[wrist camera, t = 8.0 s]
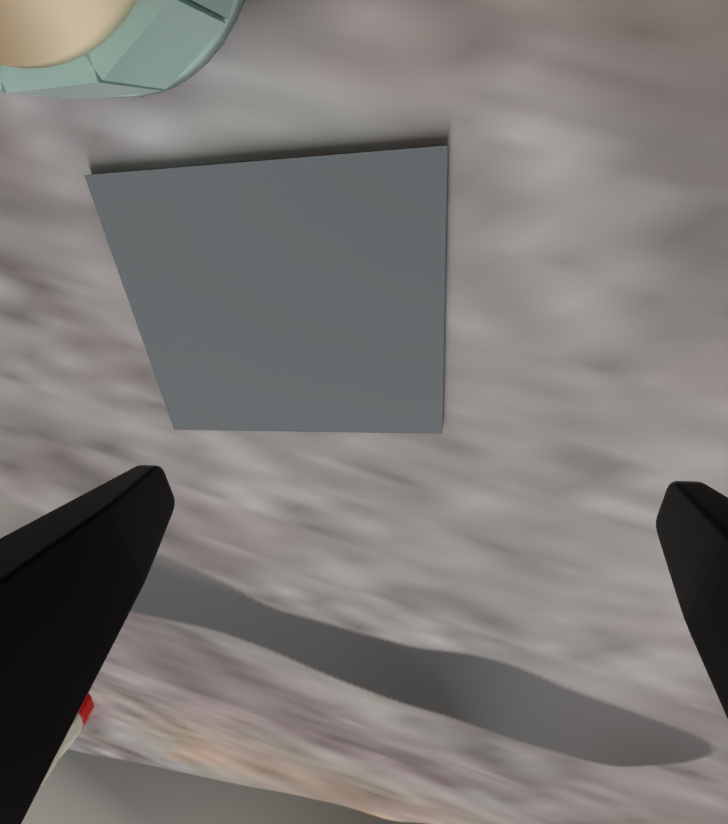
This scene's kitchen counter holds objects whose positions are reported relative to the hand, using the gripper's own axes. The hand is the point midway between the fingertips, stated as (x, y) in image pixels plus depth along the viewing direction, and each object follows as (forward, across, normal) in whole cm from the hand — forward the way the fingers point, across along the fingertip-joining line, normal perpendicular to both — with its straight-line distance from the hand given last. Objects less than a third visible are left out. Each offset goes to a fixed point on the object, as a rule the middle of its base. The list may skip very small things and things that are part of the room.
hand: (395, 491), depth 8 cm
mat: (+12, +6, +1) cm, 14 cm away
